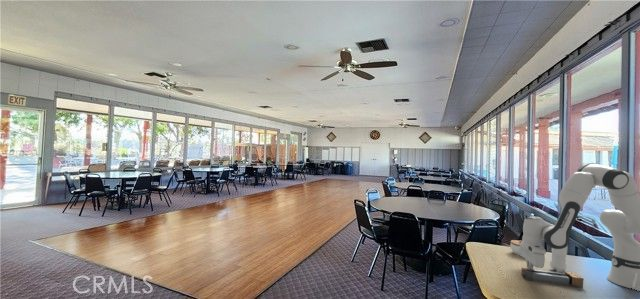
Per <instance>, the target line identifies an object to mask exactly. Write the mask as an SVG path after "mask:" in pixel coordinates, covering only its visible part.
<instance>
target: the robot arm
mask: <svg viewBox="0 0 640 299" xmlns="http://www.w3.org/2000/svg"><path fill="white" fill-rule="evenodd" d="M596 186H598V187H602V188H606V189H607V191H608V194H609V200H610V203H611V205H612V206H613V207H614V208H615V209H611V208H610V209H609V208H608V209H604V210H603V211H601V213H600V214H599V221H600V223H601V224H602V225H603V226H604V227H605V228H606V229H607V230H608V231H609V233H610V234H611V236H612V240H613V253H612V254H611V267H610V270H609V274H608V275H607V277H606V279H607V280H608V281H610V282H611V283H613V284H616V285H617V286H621V287H625V288H628V289H631V288H632V290H634V289H635V290H634V291H636V290H637V291H636V292H639V291H640V242H639V241H638V240H636V239H635V237H634V236H633V235H637V236H640V193H639V189H638V186H637V183H636V181H635V179H634V177H633V175H632V173H629V172H627V171H625V170H621V169H618V168H615V167H614V168H613V167H612V166H608V165H602V164H597V163H594V162H588V163H584V164H582V165H580V166H579V167H578V169H577V171H575V172H573V174H571V175H570V176H569V177H568V179H567V180H566V182H564V185H563V187H561V190H560V192H559V195H558V196H559V197H558V201H559V204H560V209H561V210H560V214H559V216H558V219H556V222H555V224H552V223H550V222H548V221H546V220H544V218H542V217H540V216H534V215H533V216H532V215H530V216H528V217H527V216H526V217H525V219H524V220H523V225H522V226H523V227H522V232H523V235H522V238H521V241H522V243H520V247H519V254H520V255H521V257H523V258H524V259H525V263H526V268H528V269H534V268H536V269H537V268H538V269H542V268H544V267H545V263H546V262H545V260H546V257H545V255H547V250H546V249H545V247H544V246H543V244H542V242H543V241H544V242H545V244H546V245H547V246H548V247H550V248H551V249H552V248H554V249H563V248H565V247H567V246H568V245H569V244H570V233H571V230H572V228H573V227H574V224H575V222H576V220H577V218H578V215H579V213H580V211H581V210H582V208H583V206H584V205H585V203H586V202H587V200H588V198H589V196H590V194H591V193H592V190H593V189H594V188H595V187H596ZM567 248H568V247H567Z"/></svg>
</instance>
